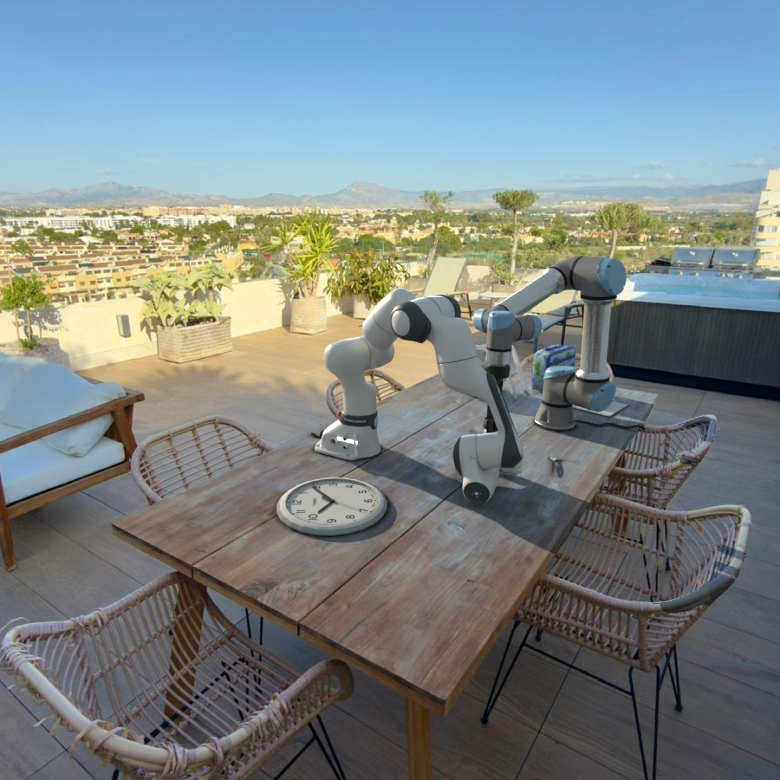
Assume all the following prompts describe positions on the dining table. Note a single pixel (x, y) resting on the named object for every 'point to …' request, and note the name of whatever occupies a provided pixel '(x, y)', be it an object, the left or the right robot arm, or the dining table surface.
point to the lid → (486, 425)
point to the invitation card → (607, 409)
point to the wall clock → (331, 506)
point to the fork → (554, 460)
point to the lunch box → (550, 362)
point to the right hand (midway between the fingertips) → (491, 435)
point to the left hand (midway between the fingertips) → (490, 450)
